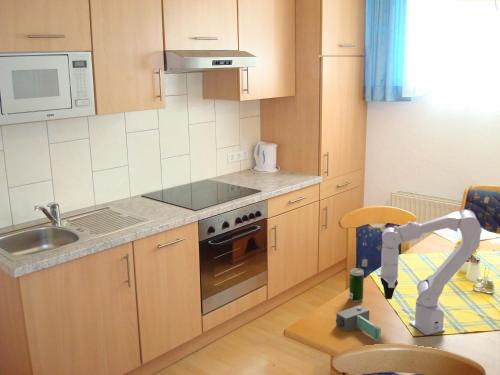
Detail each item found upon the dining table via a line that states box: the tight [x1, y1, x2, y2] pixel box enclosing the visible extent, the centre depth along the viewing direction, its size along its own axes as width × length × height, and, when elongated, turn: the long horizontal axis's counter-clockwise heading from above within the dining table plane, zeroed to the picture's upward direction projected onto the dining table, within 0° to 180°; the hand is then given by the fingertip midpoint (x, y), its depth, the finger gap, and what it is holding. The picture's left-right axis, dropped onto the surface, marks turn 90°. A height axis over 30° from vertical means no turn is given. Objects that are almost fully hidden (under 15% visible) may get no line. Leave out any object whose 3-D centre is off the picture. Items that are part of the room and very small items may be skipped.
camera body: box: [335, 304, 370, 332], centre depth 191 cm, size 12×5×6 cm, turn 122°
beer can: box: [348, 267, 365, 303], centre depth 210 cm, size 5×5×12 cm
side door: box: [357, 315, 382, 342], centre depth 184 cm, size 12×1×4 cm, turn 28°
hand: (388, 298), depth 191 cm, fingers closed
